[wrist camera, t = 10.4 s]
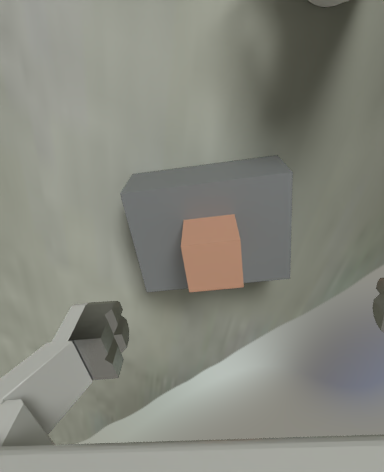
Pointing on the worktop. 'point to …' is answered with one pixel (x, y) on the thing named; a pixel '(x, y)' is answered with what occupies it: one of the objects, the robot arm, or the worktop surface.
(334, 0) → the mug
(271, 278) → the stand
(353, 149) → the worktop surface
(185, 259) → the cube
